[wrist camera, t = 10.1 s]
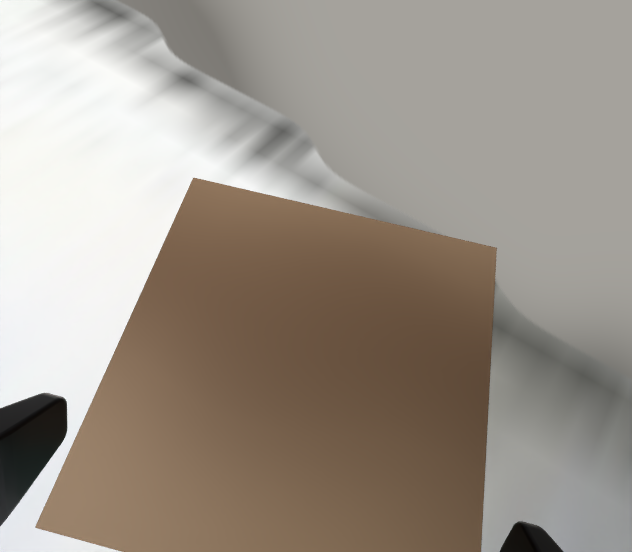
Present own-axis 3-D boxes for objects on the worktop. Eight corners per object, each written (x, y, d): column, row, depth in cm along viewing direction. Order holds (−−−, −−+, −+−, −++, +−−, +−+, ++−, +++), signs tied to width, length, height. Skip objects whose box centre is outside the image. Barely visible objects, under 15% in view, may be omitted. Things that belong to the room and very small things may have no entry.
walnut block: (341, 502, 16) (475, 649, 4) (220, 470, 16) (35, 527, 4) (363, 378, 18) (496, 248, 6) (256, 351, 18) (193, 177, 6)
